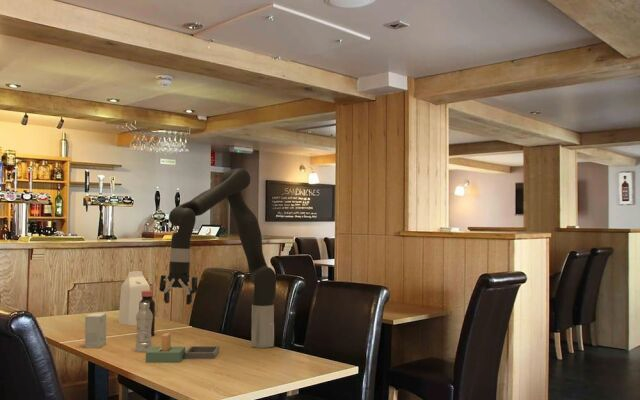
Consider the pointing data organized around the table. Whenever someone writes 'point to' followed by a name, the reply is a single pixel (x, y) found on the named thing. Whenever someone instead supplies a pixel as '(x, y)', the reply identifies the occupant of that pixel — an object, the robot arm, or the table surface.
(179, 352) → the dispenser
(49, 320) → the table surface
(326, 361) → the table surface
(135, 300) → the milk
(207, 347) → the tray
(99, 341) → the small box
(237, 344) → the table surface
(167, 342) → the tan wooden plank
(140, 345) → the plastic bottle
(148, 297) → the vinegar
